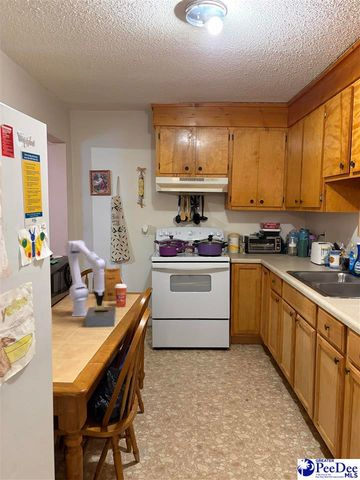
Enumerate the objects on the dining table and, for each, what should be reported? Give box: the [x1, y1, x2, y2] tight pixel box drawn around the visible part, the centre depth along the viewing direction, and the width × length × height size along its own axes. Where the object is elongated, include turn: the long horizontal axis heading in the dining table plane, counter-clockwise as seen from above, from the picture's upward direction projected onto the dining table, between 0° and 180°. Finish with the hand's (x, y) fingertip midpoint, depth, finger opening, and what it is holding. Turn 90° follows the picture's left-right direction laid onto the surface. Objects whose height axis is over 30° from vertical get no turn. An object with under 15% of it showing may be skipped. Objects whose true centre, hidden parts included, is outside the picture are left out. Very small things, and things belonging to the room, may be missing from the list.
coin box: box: [84, 306, 117, 328], centre depth 195 cm, size 17×15×6 cm
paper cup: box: [115, 283, 128, 308], centre depth 227 cm, size 8×8×14 cm
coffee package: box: [103, 267, 122, 302], centre depth 243 cm, size 10×12×22 cm
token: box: [94, 301, 105, 310], centre depth 195 cm, size 2×5×4 cm, turn 109°
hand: (99, 305), depth 194 cm, fingers closed on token, 2 cm apart
